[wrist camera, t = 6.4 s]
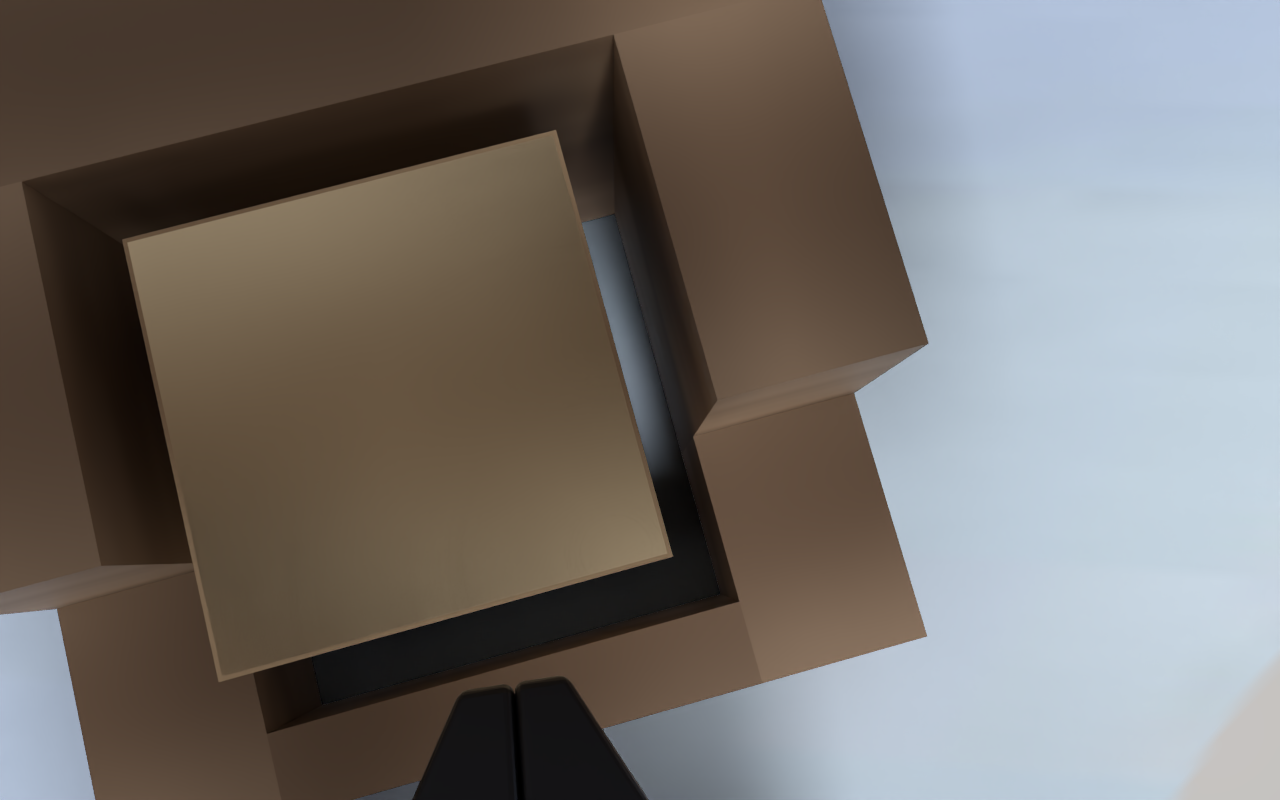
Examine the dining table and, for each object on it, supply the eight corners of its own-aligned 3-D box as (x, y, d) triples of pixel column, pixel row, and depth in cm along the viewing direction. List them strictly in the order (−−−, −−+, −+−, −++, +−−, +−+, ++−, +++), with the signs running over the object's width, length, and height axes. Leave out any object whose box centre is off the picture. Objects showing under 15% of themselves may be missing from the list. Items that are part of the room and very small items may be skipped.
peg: (652, 554, 19) (673, 556, 12) (364, 634, 19) (218, 682, 12) (577, 277, 20) (555, 129, 13) (297, 350, 20) (122, 239, 13)
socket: (878, 622, 19) (1028, 664, 12) (191, 817, 18) (-66, 978, 11) (702, 28, 20) (747, -239, 14) (58, 189, 20) (-243, -6, 13)
